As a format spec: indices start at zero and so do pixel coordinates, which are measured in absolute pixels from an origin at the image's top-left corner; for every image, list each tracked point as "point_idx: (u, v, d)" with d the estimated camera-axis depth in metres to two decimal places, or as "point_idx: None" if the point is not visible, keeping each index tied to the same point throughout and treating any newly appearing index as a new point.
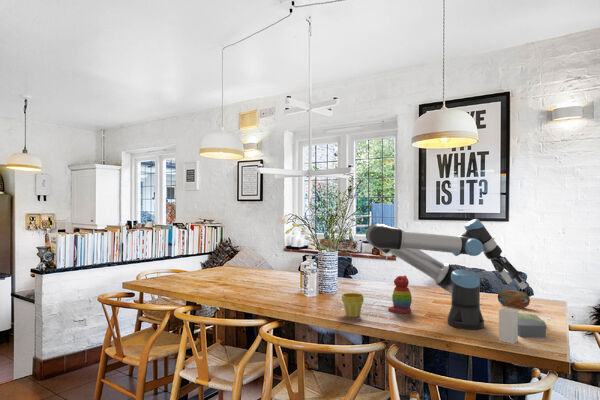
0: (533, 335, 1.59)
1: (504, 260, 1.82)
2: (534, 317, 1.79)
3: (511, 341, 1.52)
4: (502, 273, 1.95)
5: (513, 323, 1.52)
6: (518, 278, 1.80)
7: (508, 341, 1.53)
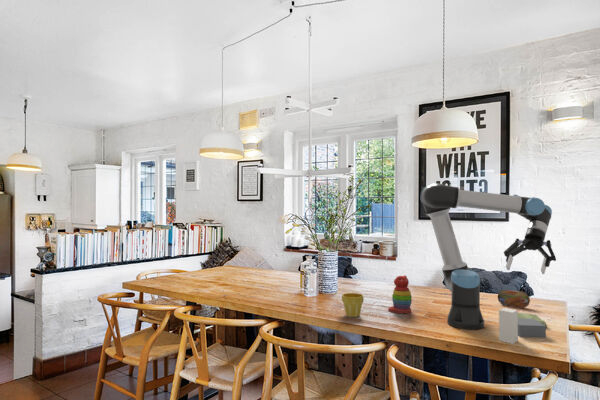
0: (533, 335, 1.59)
1: (550, 244, 1.71)
2: (534, 317, 1.79)
3: (511, 341, 1.52)
4: (511, 257, 1.76)
5: (513, 323, 1.52)
6: (549, 261, 1.65)
7: (508, 341, 1.53)
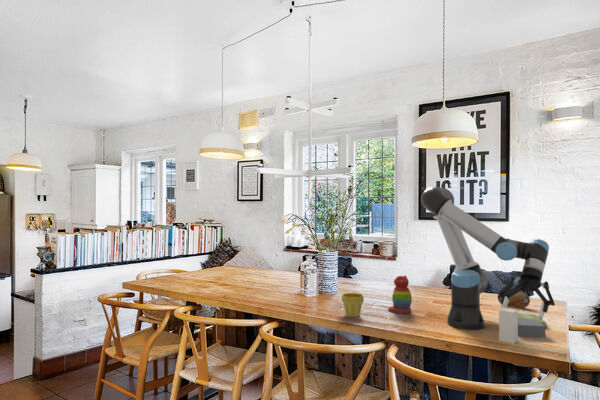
0: (532, 335, 1.59)
1: (548, 285, 1.60)
2: (535, 317, 1.79)
3: (511, 341, 1.52)
4: (507, 299, 1.65)
5: (513, 323, 1.52)
6: (547, 306, 1.54)
7: (508, 341, 1.53)
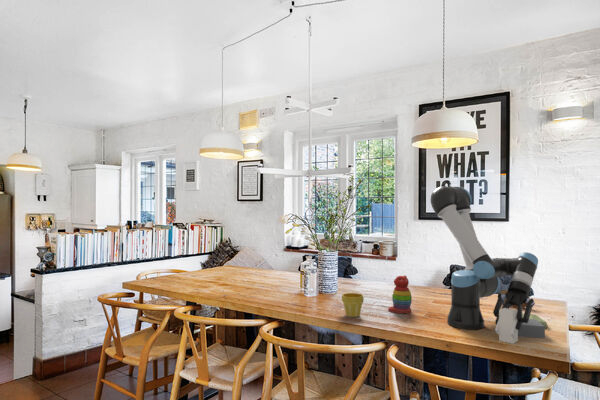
0: (531, 335, 1.59)
1: (532, 303, 1.55)
2: (535, 317, 1.79)
3: (511, 341, 1.52)
4: None
5: (513, 323, 1.52)
6: (520, 324, 1.52)
7: (508, 341, 1.53)
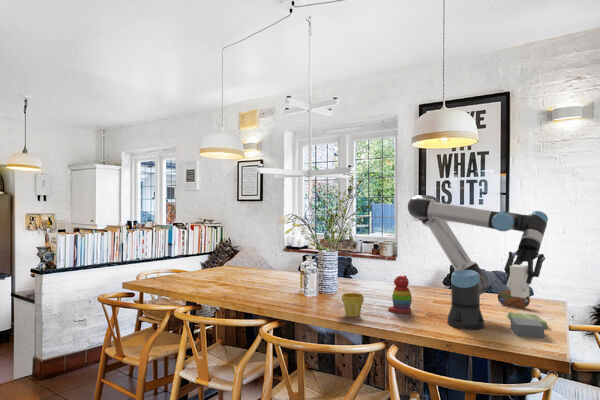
0: (530, 335, 1.59)
1: (543, 258, 1.59)
2: (535, 317, 1.79)
3: (523, 295, 1.56)
4: None
5: (524, 277, 1.56)
6: (531, 278, 1.56)
7: (520, 295, 1.57)
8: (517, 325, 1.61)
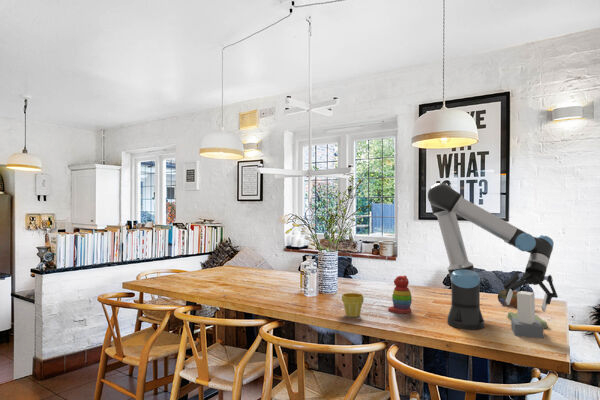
0: (529, 335, 1.60)
1: (551, 279, 1.65)
2: (535, 317, 1.78)
3: (529, 322, 1.61)
4: (511, 291, 1.70)
5: (531, 304, 1.61)
6: (550, 298, 1.59)
7: (526, 322, 1.62)
8: (516, 325, 1.61)
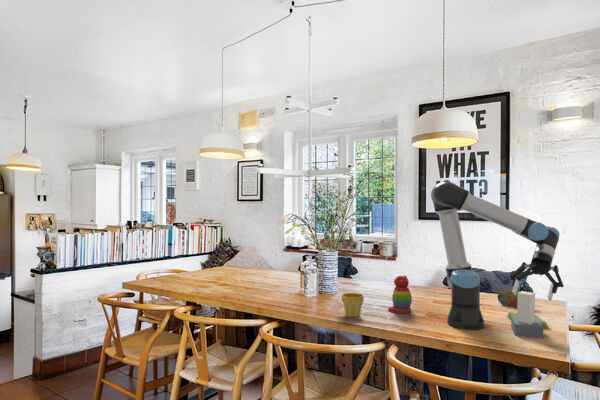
0: (529, 335, 1.60)
1: (557, 269, 1.68)
2: (535, 317, 1.78)
3: (529, 322, 1.61)
4: (517, 281, 1.73)
5: (531, 304, 1.61)
6: (556, 288, 1.62)
7: (526, 322, 1.62)
8: (516, 325, 1.61)
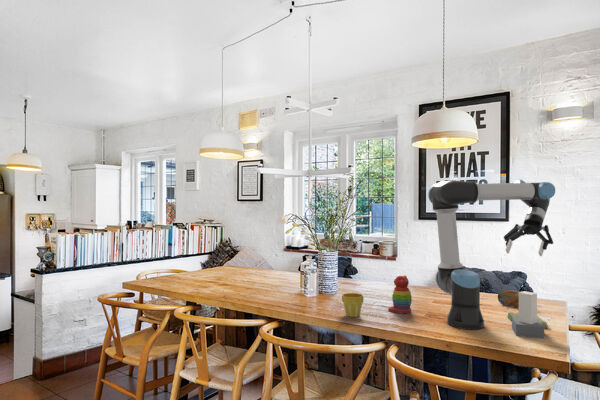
0: (530, 335, 1.60)
1: (548, 228, 1.80)
2: None
3: (530, 321, 1.61)
4: (511, 241, 1.85)
5: (532, 304, 1.62)
6: (546, 244, 1.74)
7: (527, 322, 1.62)
8: (517, 325, 1.61)
